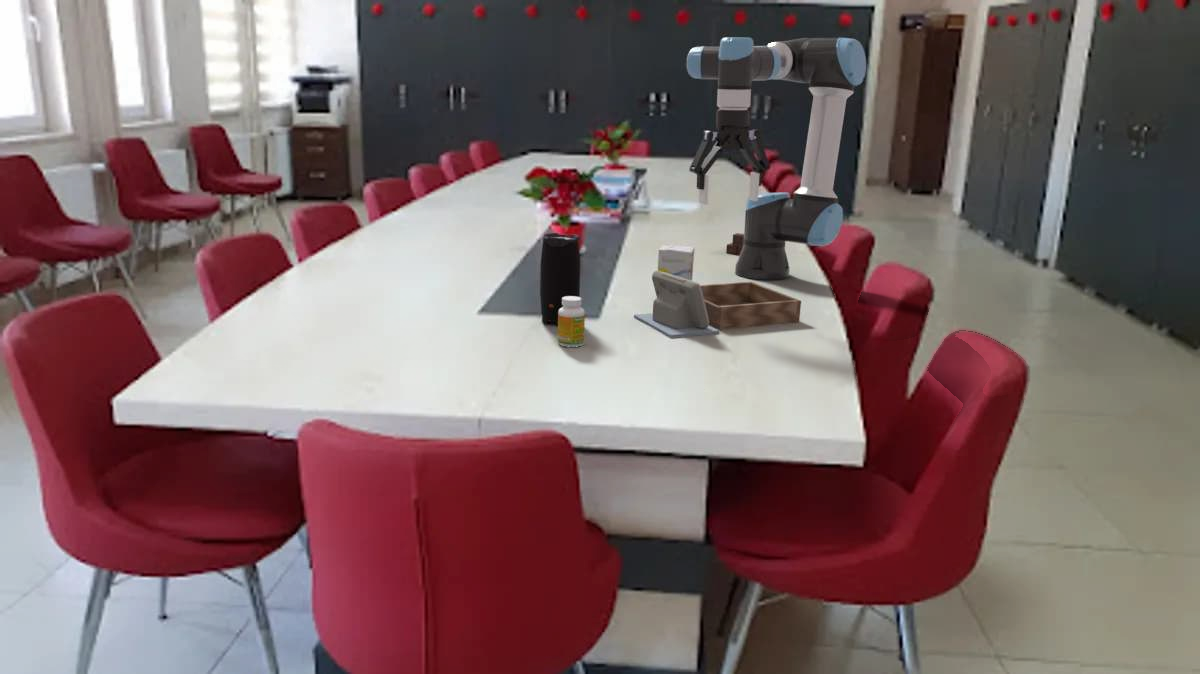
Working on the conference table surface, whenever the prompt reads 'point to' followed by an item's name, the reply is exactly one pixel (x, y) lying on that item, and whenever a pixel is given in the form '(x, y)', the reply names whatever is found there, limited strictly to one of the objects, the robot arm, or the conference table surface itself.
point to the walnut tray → (748, 305)
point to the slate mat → (673, 331)
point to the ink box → (676, 260)
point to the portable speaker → (558, 273)
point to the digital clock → (678, 302)
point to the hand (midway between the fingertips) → (728, 202)
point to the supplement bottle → (571, 322)
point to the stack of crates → (736, 244)
